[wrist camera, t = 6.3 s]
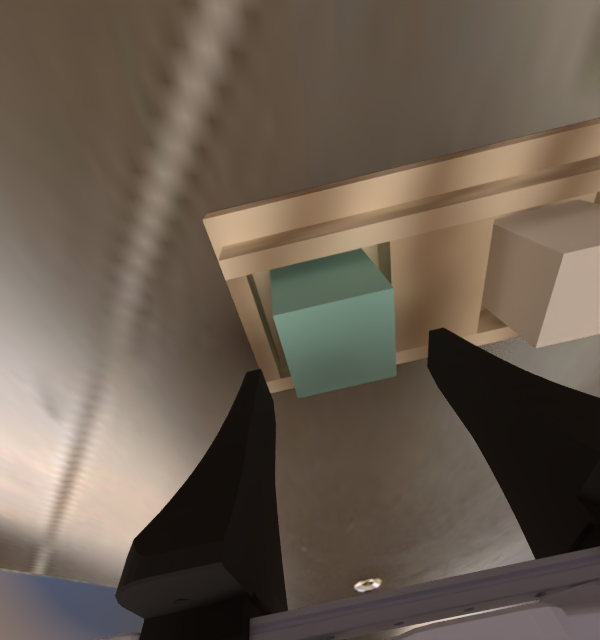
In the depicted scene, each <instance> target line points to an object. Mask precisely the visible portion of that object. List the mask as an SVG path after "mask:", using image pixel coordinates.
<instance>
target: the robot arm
mask: <svg viewBox="0 0 600 640" xmlns="http://www.w3.org/2000/svg"><path fill="white" fill-rule="evenodd" d="M427 367H428V369H429V371H430V373H431V375H432V377H433V379H434V380H435V382H436V384H437V386H438V388H439V389H440V391H441V392H442V394H443V395H444V397H445V398H446V399H447V401H448V402H449V404H450V405H451V407H452V408H453V409H454V411H455V412H456V414H457V415H458V417H459V418H460V419H461V421H462V422H463V424H464V425H465V427H466V428H467V429H468V431H469V432H470V434H471V435H472V437H473V438H474V440H475V442H476V443H477V445H478V447H479V449H480V450H481V452H482V454H483V456H484V457H485V459H486V461H487V463H488V465H489V466H490V468H491V470H492V472H493V474H494V476H495V478H496V479H497V481H498V483H499V485H500V487H501V489H502V491H503V493H504V495H505V497H506V499H507V501H508V503H509V505H510V507H511V509H512V511H513V513H514V515H515V517H516V519H517V521H518V523H519V525H520V527H521V529H522V531H523V533H524V535H525V538H526V540H527V542H528V544H529V546H530V548H531V550H532V553H533V555H534V557H535V559H536V560H531V561H526V562H521V563H517V564H512V565H507V566H502V567H497V568H492V569H488V570H483V571H478V572H473V573H468V574H463V575H459V576H454V577H449V578H444V579H439V580H434V581H429V582H425V583H420V584H415V585H410V586H405V587H400V588H396V589H391V590H386V591H381V592H376V593H371V594H366V595H362V596H357V597H352V598H347V599H342V600H337V601H333V602H328V603H323V604H318V605H313V606H308V607H304V608H299V609H294V610H289V611H288V607H287V599H286V590H285V582H284V574H283V565H282V555H281V546H280V536H279V525H278V514H277V502H276V489H275V444H276V421H275V411H274V402H273V399H272V396H271V394H270V391H269V388H268V386H267V383H266V380H265V378H264V375H263V372H262V370H261V369H259V370H254V371H250V372H247V373H246V375H245V377H244V380H243V382H242V385H241V387H240V390H239V392H238V394H237V397H236V399H235V401H234V403H233V405H232V407H231V410H230V412H229V414H228V416H227V418H226V420H225V421H224V423H223V425H222V427H221V429H220V431H219V433H218V434H217V436H216V438H215V439H214V441H213V443H212V444H211V446H210V448H209V449H208V451H207V452H206V454H205V455H204V457H203V458H202V460H201V461H200V463H199V464H198V465H197V467H196V468H195V470H194V471H193V472H192V474H191V475H190V476H189V478H188V479H187V480H186V482H185V483H184V484H183V485H182V487H181V488H180V489H179V490H178V492H177V493H176V494H175V495H174V496H173V498H172V499H171V500H170V501H169V502H168V504H167V505H166V506H165V507H164V508H163V509H162V510H161V512H160V513H159V514H158V515H157V516H156V517H155V518H154V519H153V520H152V521H151V522H150V523H149V524H148V525H147V526H146V527H145V528H144V529H143V531H142V532H141V533H140V534H139V535H138V536H137V537H136V538H135V539H134V541H133V543H132V546H131V548H130V551H129V553H128V556H127V559H126V563H125V566H124V569H123V572H122V576H121V579H120V582H119V585H118V588H117V592H116V595H115V596H116V599H117V601H118V603H119V604H120V605H121V606H122V607H124V608H126V609H127V610H129V611H131V612H133V613H135V614H137V615H138V616H140V617H142V618H144V623H143V627H142V632H141V633H126V634H121V635H116V636H111V637H106V638H101V639H97V640H341V639H346V638H351V637H356V636H361V635H366V634H371V633H376V632H381V631H386V630H390V629H395V628H400V627H405V626H410V625H415V624H420V623H425V622H430V621H435V620H440V619H445V618H450V617H455V616H459V615H464V614H469V613H474V612H479V611H484V610H489V609H494V608H499V607H504V606H509V605H514V604H519V603H523V602H528V601H533V600H538V599H541V600H540V603H534V604H526V605H521V606H516V607H511V608H506V609H501V610H496V611H492V612H487V613H482V614H477V615H472V616H467V617H462V618H457V619H452V620H447V621H442V622H437V623H433V624H429V625H425V626H421V627H418V628H414V629H412V630H410V631H407V632H405V633H403V634H401V635H399V636H395V637H392V638H388V639H385V640H600V398H599V397H595V396H592V395H589V394H586V393H583V392H580V391H577V390H574V389H571V388H568V387H565V386H563V385H560V384H557V383H555V382H552V381H549V380H547V379H545V378H542V377H540V376H537V375H535V374H532V373H530V372H528V371H525V370H523V369H521V368H519V367H517V366H515V365H512V364H510V363H508V362H506V361H504V360H502V359H500V358H498V357H496V356H494V355H492V354H490V353H489V352H487V351H485V350H483V349H481V348H479V347H478V346H476V345H474V344H472V343H470V342H469V341H467V340H465V339H463V338H462V337H460V336H458V335H456V334H455V333H453V332H451V331H449V330H447V329H446V328H444V327H443V328H439V329H434V330H430V331H429V341H428V365H427Z"/></svg>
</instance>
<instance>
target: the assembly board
mask: <svg viewBox="0 0 600 640" xmlns="http://www.w3.org/2000/svg"><path fill="white" fill-rule="evenodd" d="M577 199H579V200H583V201H588V202H592V203H596V204H600V118H598V119H593V120H589V121H585V122H581V123H577V124H573V125H569V126H565V127H561V128H557V129H552V130H548V131H544V132H540V133H536V134H532V135H528V136H524V137H520V138H515V139H511V140H507V141H503V142H499V143H495V144H491V145H487V146H483V147H479V148H474V149H470V150H466V151H462V152H458V153H454V154H450V155H446V156H442V157H437V158H433V159H429V160H425V161H421V162H417V163H413V164H409V165H405V166H400V167H396V168H392V169H388V170H384V171H380V172H376V173H372V174H368V175H364V176H359V177H355V178H351V179H347V180H343V181H339V182H335V183H331V184H327V185H322V186H318V187H314V188H310V189H306V190H302V191H298V192H294V193H290V194H285V195H281V196H277V197H273V198H269V199H265V200H261V201H257V202H253V203H249V204H244V205H240V206H236V207H232V208H228V209H224V210H220V211H216V212H212V213H207V214H206V215H205V217H204V218H203V222H204V225H205V228H206V230H207V233H208V236H209V238H210V241H211V243H212V246H213V249H214V251H215V254H216V256H217V259H218V262H219V264H220V267H221V270H222V272H223V275H224V277H225V280H226V283H227V285H228V288H229V291H230V293H231V296H232V298H233V301H234V304H235V306H236V309H237V311H238V314H239V317H240V319H241V322H242V325H243V327H244V330H245V332H246V335H247V338H248V340H249V343H250V345H251V348H252V351H253V353H254V356H255V359H256V361H257V364H258V366H259V369H261V370H262V372H263V375H264V378H265V380H266V383H267V386H268V388H269V391H270V393H275V392H279V391H283V390H288V389H292V388H295V387H294V384H293V381H292V377H291V374H290V371H289V367H288V364H287V361H286V358H285V354H284V351H283V348H282V344H281V341H280V338H279V335H278V331H277V328H276V325H275V321H274V318H273V310H272V293H271V277H270V270H271V269H275V268H279V267H284V266H288V265H292V264H296V263H300V262H305V261H309V260H313V259H317V258H321V257H326V256H330V255H334V254H338V253H342V252H347V251H351V250H355V249H359V248H362V250H363V251H364V252H365V253H366V255H367V256H368V257H369V258H370V259H371V261H372V262H373V263H374V264H375V266H376V267H377V268H378V269H379V270H380V272H381V273H382V274H383V275H384V277H385V278H386V279H387V280H388V281H389V283H390V284H391V285H392V286H393V288H394V310H395V341H396V365H397V364H401V363H406V362H410V361H414V360H419V359H423V358H427V357H428V341H429V331H430V330H434V329H439V328H443V327H444V328H446V329H447V330H449V331H451V332H453V333H455V334H456V335H458V336H460V337H462V338H463V339H465V340H467V341H469V342H470V343H472V344H474V345H476V346H480V345H484V344H489V343H493V342H497V341H502V340H506V339H510V338H515V337H519V336H520V335H518V334H517V333H516V332H515V331H513V330H512V329H511V328H510V327H508V326H507V325H506V324H505V323H504V322H502V321H501V320H500V319H499V318H497V317H496V316H495V315H494V314H492V313H491V312H490V311H489V310H488V309H486V308H485V307H484V306H483V305H481V303H482V296H483V289H484V283H485V276H486V270H487V263H488V257H489V250H490V244H491V237H492V231H493V224H494V219H497V218H501V217H506V216H510V215H514V214H518V213H522V212H527V211H531V210H535V209H539V208H543V207H548V206H552V205H556V204H560V203H564V202H569V201H573V200H577Z"/></svg>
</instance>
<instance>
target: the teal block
mask: <svg viewBox="0 0 600 640" xmlns="http://www.w3.org/2000/svg"><path fill="white" fill-rule="evenodd" d="M270 277H271V293H272V310H273V318H274V321H275V325H276V328H277V331H278V335H279V338H280V341H281V344H282V348H283V351H284V354H285V358H286V361H287V364H288V367H289V371H290V374H291V377H292V381H293V384H294V387H295V391H296V394H297V397H298V398H302V397H307V396H311V395H315V394H320V393H324V392H329V391H333V390H338V389H342V388H346V387H351V386H355V385H360V384H364V383H369V382H373V381H377V380H382V379H386V378H391V377H395V376H397V372H396V341H395V310H394V288H393V286H392V285H391V284H390V283H389V281H388V280H387V279H386V278H385V277H384V275H383V274H382V273H381V272H380V270H379V269H378V268H377V267H376V266H375V264H374V263H373V262H372V261H371V259H370V258H369V257H368V256H367V255H366V253H365V252H364V251H363V250H362V248H359V249H355V250H351V251H347V252H342V253H338V254H334V255H330V256H326V257H321V258H317V259H313V260H309V261H305V262H300V263H296V264H292V265H288V266H284V267H279V268H275V269H271V270H270Z"/></svg>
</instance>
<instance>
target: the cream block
mask: <svg viewBox="0 0 600 640" xmlns="http://www.w3.org/2000/svg"><path fill="white" fill-rule="evenodd" d="M481 305H483V306H484V307H485V308H486V309H488V310H489V311H490V312H491V313H492V314H494V315H495V316H496V317H497V318H499V319H500V320H501V321H502V322H504V323H505V324H506V325H507V326H508V327H510V328H511V329H512V330H513V331H515V332H516V333H517V334H518V335H520V336H521V337H522V338H523V339H525V340H526V341H527V342H528V343H529V344H531V345H532V346H533V347H534V348H540V347H544V346H548V345H553V344H557V343H562V342H566V341H570V340H575V339H579V338H584V337H588V336H592V335H597V334H600V204H596V203H592V202H588V201H583V200H579V199H577V200H573V201H569V202H564V203H560V204H556V205H552V206H548V207H543V208H539V209H535V210H531V211H527V212H522V213H518V214H514V215H510V216H506V217H501V218H497V219H494V224H493V231H492V237H491V244H490V250H489V257H488V263H487V270H486V276H485V283H484V289H483V296H482V303H481Z"/></svg>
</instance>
